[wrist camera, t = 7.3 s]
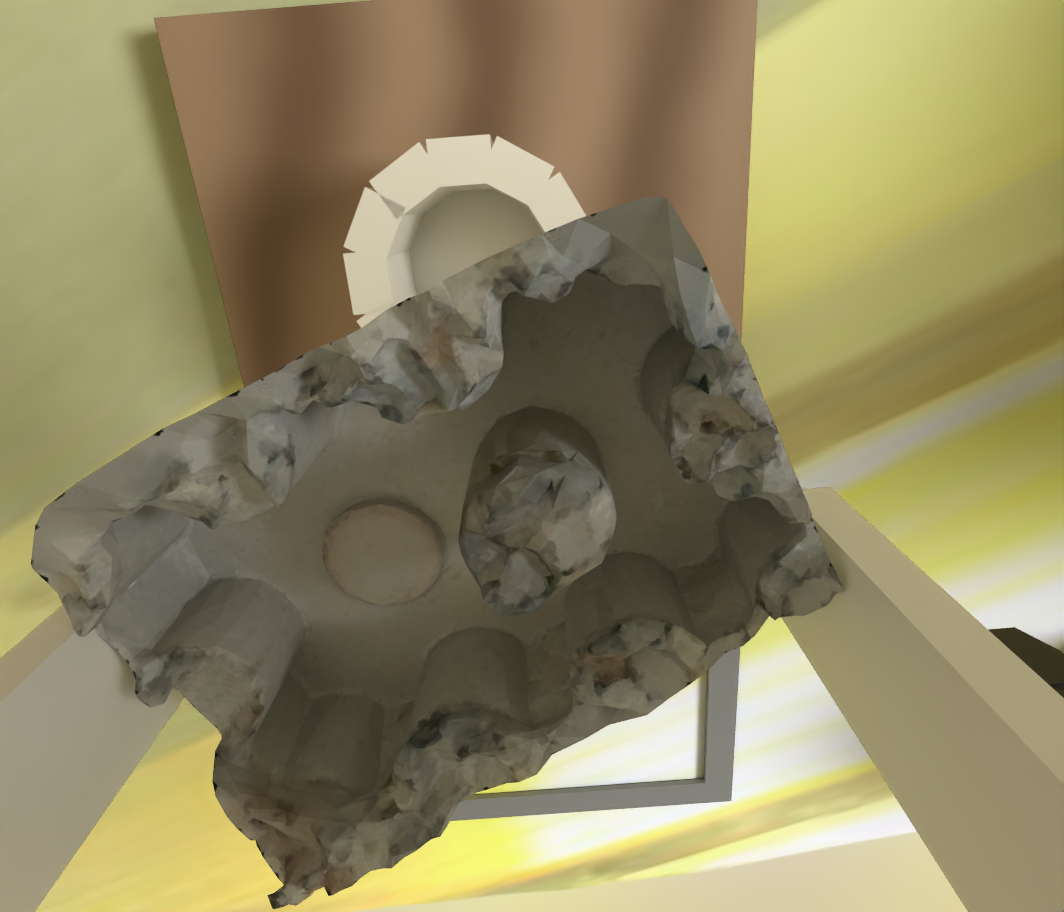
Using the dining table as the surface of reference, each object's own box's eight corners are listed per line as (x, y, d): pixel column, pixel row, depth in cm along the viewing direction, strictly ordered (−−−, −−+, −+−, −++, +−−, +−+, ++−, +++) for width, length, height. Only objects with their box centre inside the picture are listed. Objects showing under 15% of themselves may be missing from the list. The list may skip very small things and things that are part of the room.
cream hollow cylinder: (575, 144, 22) (591, 126, 18) (584, 352, 25) (600, 386, 20) (366, 161, 22) (324, 147, 18) (397, 367, 25) (368, 404, 20)
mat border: (746, 491, 29) (748, 494, 29) (729, 796, 36) (731, 800, 35) (268, 527, 29) (266, 530, 29) (343, 823, 36) (342, 828, 36)
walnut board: (746, -19, 22) (758, -31, 21) (726, 442, 28) (735, 451, 27) (172, 27, 22) (153, 18, 21) (278, 475, 28) (268, 487, 27)
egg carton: (332, 738, 14) (256, 938, 10) (101, 457, 11) (-112, 583, 8) (794, 546, 12) (914, 702, 8) (640, 165, 10) (711, 139, 6)
